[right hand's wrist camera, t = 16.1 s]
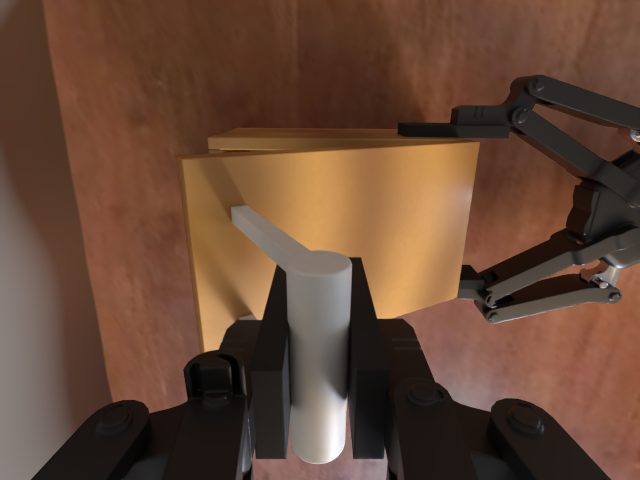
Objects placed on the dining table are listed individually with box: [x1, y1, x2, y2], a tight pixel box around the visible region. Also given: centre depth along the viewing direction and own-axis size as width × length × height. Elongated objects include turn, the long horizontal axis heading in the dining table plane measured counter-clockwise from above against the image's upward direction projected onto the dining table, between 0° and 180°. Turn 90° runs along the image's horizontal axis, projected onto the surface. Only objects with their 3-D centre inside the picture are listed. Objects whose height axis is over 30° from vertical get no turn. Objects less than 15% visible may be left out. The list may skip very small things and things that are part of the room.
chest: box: [208, 128, 466, 154], centre depth 28 cm, size 16×10×9 cm, turn 90°
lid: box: [177, 140, 480, 464], centre depth 17 cm, size 16×10×9 cm, turn 89°
